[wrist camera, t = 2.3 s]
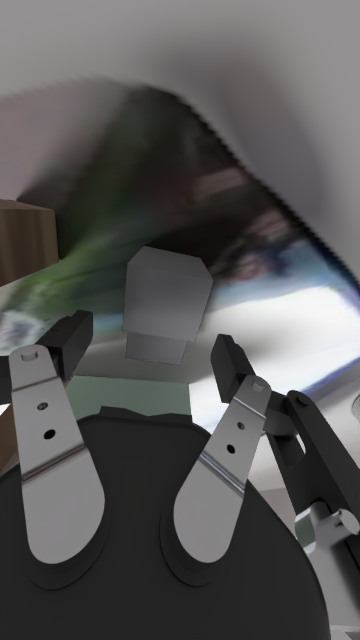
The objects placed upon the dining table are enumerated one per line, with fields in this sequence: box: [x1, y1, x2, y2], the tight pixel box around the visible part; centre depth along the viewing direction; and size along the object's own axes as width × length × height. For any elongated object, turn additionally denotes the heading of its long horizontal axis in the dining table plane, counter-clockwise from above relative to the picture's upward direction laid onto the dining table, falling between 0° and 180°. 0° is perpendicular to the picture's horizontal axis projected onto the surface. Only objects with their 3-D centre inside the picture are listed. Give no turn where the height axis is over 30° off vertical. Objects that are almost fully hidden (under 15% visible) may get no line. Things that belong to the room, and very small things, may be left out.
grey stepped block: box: [122, 246, 213, 365], centre depth 16 cm, size 5×9×6 cm, turn 168°
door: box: [65, 375, 191, 420], centre depth 17 cm, size 2×14×15 cm, turn 83°
